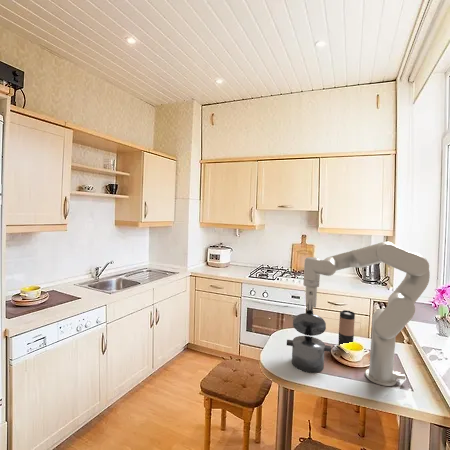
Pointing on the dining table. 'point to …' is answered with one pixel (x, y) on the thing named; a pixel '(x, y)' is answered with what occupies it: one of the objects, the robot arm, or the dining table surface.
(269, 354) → the dining table surface
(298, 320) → the lid
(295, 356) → the cooker pot
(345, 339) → the travel mug
